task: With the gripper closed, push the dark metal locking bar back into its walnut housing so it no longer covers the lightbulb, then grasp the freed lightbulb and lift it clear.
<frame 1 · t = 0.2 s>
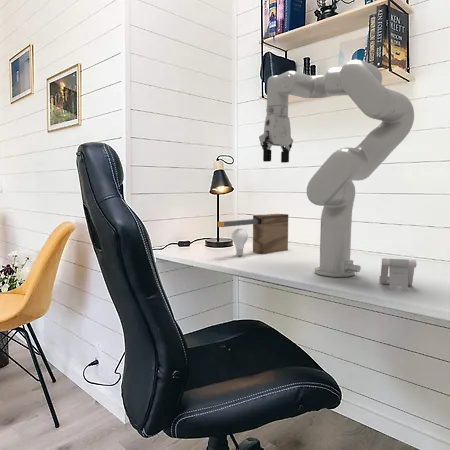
hand: (276, 161, 152), 37 cm above the table, tool pointing down, fingers open, 9 cm apart
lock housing: (270, 251, 184), on the table
portable electronic device stand: (396, 288, 121), on the table
lightbulb: (239, 256, 171), on the table
locking bar: (242, 222, 171), point 13 cm above the table, slide at 0.0 cm
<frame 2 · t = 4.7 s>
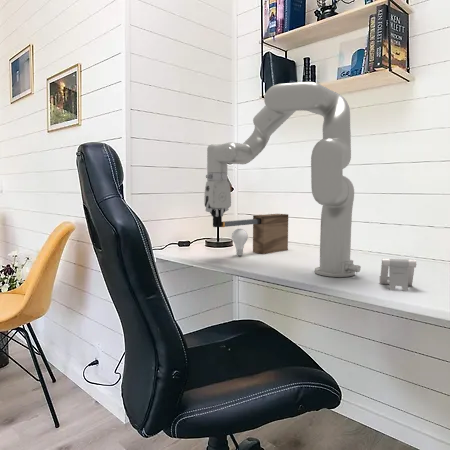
hand: (217, 226, 161), 13 cm above the table, tool pointing down, fingers closed
locking bar: (243, 222, 171), point 13 cm above the table, slide at 0.3 cm, touching gripper
everything else where it was.
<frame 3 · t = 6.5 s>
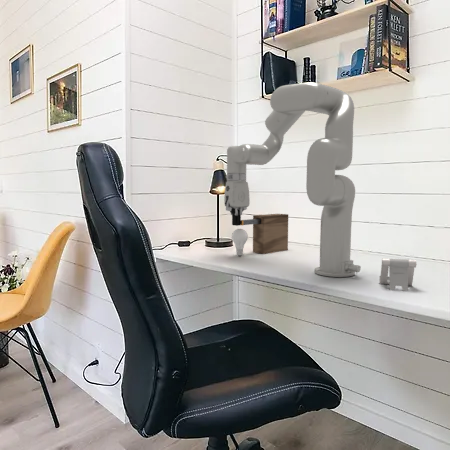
hand: (236, 225, 168), 13 cm above the table, tool pointing down, fingers closed
locking bar: (260, 220, 178), point 13 cm above the table, slide at 10.5 cm, touching gripper
everything else where it was.
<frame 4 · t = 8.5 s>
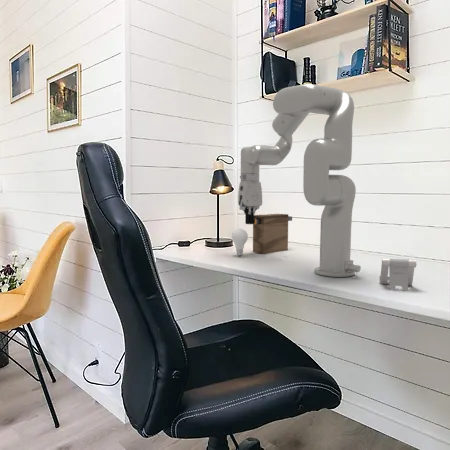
hand: (249, 223, 174), 13 cm above the table, tool pointing down, fingers closed
locking bar: (272, 219, 183), point 13 cm above the table, slide at 18.1 cm, touching gripper
everything else where it was.
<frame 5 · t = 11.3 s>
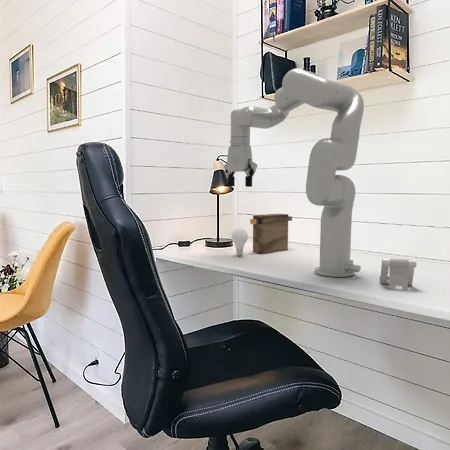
hand: (239, 186, 168), 28 cm above the table, tool pointing down, fingers open, 9 cm apart
locking bar: (272, 219, 183), point 13 cm above the table, slide at 18.0 cm
everything else where it was.
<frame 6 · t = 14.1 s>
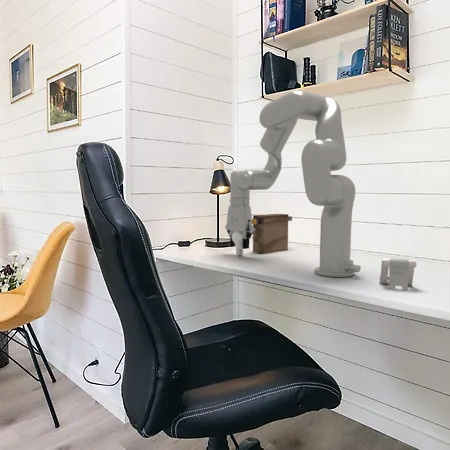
hand: (239, 247, 171), 4 cm above the table, tool pointing down, fingers closed on lightbulb, 6 cm apart
lightbulb: (239, 256, 171), on the table, touching gripper
everything else where it was.
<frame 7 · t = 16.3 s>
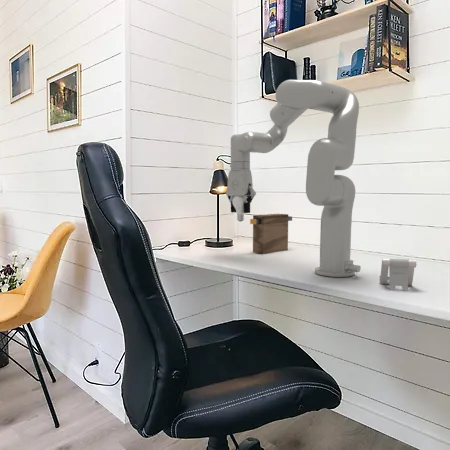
hand: (240, 212, 169), 18 cm above the table, tool pointing down, fingers closed on lightbulb, 6 cm apart
lightbulb: (240, 222, 169), point 14 cm above the table, touching gripper
everything else where it was.
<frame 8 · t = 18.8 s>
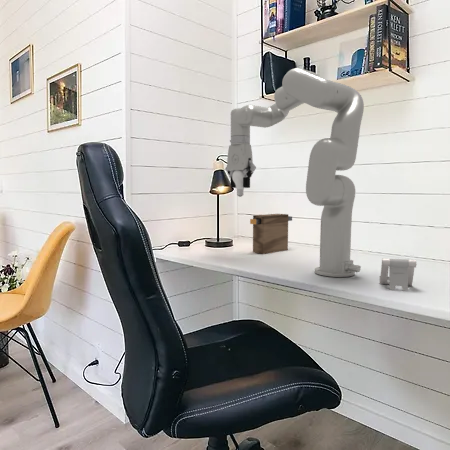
hand: (240, 187, 168), 27 cm above the table, tool pointing down, fingers closed on lightbulb, 6 cm apart
lightbulb: (240, 197, 169), point 24 cm above the table, touching gripper
everything else where it was.
at the end: locking bar slide at 18.0 cm; lightbulb point 23.5 cm above the table; the gripper is holding lightbulb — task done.
